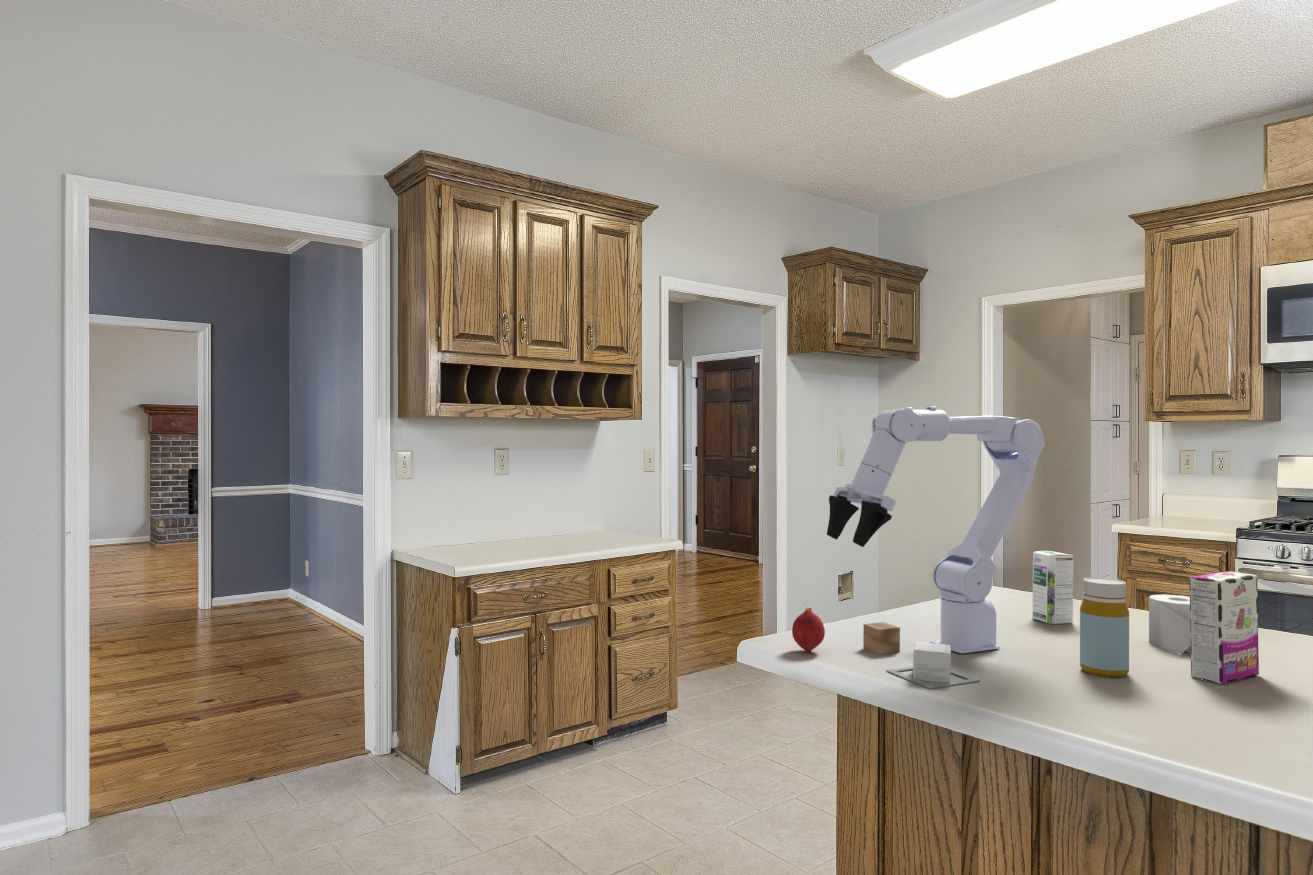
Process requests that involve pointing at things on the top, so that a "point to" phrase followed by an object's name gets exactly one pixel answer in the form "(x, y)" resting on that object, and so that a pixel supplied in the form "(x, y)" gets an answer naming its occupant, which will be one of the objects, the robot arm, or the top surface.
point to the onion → (808, 630)
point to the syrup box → (1052, 587)
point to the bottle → (1104, 628)
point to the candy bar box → (1224, 627)
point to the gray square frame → (969, 680)
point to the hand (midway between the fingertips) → (844, 540)
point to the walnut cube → (881, 638)
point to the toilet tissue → (1170, 622)
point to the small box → (932, 662)
